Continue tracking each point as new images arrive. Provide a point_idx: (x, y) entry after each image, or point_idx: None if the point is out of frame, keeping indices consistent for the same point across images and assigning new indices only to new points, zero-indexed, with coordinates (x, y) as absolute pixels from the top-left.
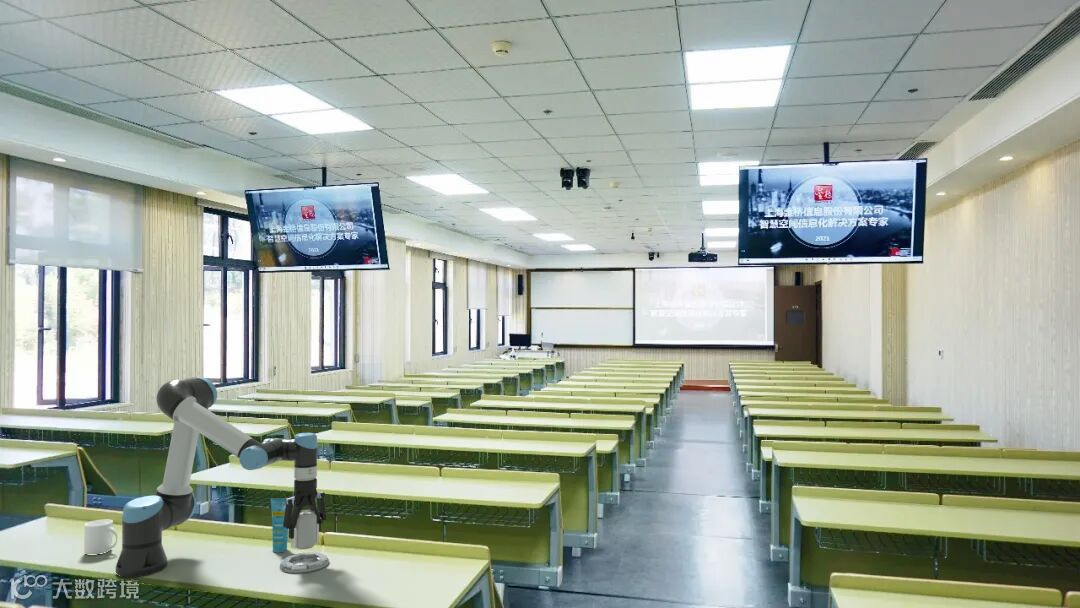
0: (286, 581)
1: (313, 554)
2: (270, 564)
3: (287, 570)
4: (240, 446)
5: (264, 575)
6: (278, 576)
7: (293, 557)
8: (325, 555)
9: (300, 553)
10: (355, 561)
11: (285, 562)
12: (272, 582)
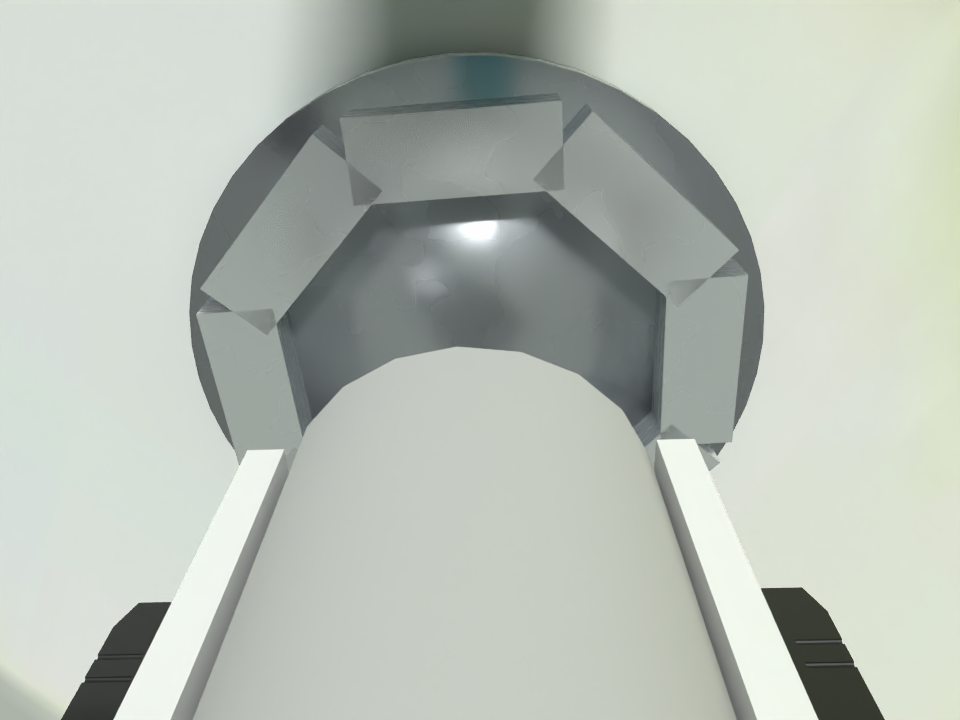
0: (170, 592)
1: (657, 286)
2: (134, 5)
3: (230, 443)
4: None
5: (3, 335)
6: (134, 453)
7: (403, 198)
8: (725, 430)
9: (548, 126)
10: (886, 581)
11: (239, 328)
12: (52, 541)
